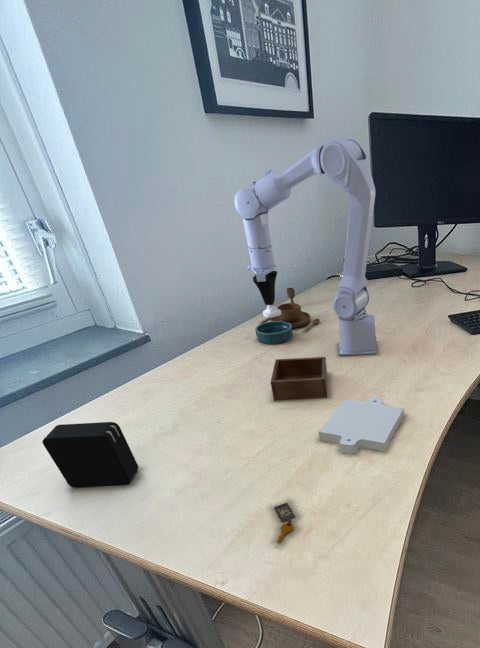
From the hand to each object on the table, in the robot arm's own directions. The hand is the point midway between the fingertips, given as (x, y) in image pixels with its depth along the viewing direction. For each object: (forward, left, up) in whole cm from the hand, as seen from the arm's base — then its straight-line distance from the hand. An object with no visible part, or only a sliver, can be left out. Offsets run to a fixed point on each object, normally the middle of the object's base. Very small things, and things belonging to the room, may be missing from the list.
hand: (270, 303), depth 116 cm
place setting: (-5, -16, -10) cm, 20 cm away
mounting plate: (-22, +49, -10) cm, 54 cm away
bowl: (0, -1, -10) cm, 10 cm away
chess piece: (0, 0, -3) cm, 3 cm away
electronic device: (+23, +60, -10) cm, 65 cm away
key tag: (-8, +74, -10) cm, 75 cm away
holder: (-9, +30, -10) cm, 32 cm away
